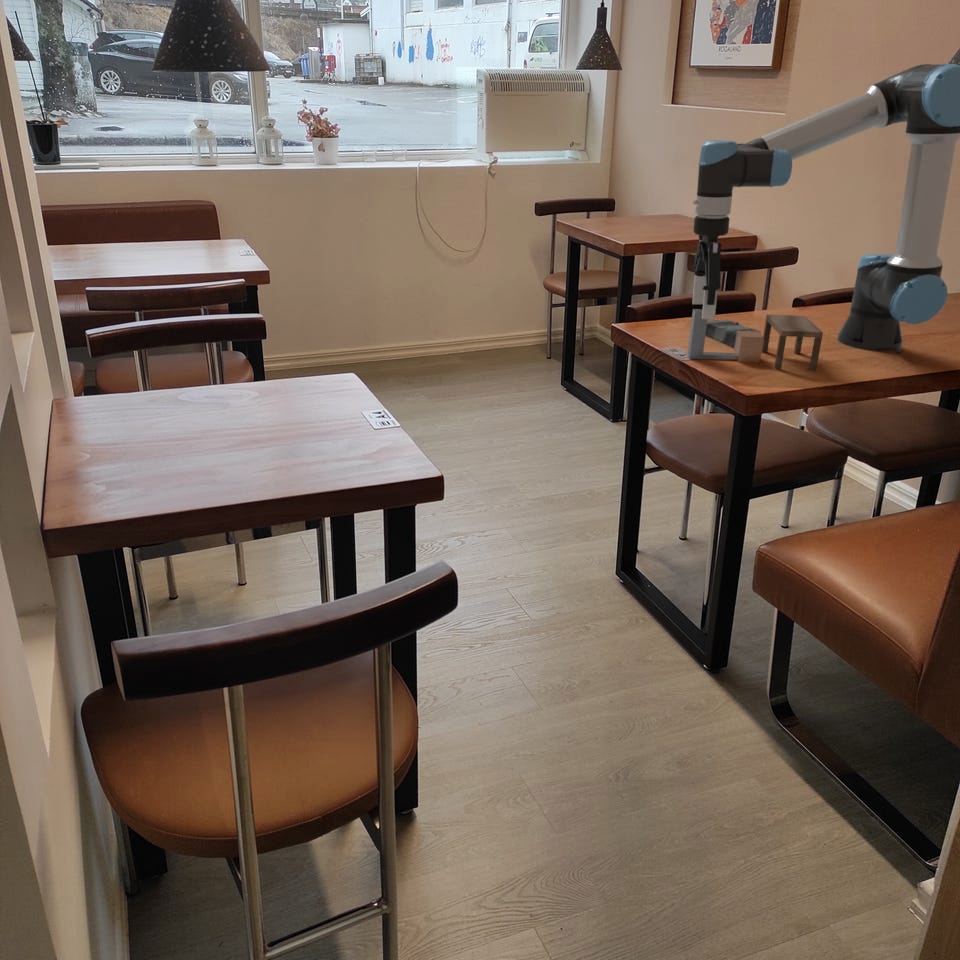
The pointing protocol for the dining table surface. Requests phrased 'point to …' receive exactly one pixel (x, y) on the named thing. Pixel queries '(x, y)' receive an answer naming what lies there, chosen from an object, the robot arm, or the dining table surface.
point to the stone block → (725, 331)
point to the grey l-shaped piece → (745, 351)
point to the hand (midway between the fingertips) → (703, 311)
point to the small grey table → (793, 328)
